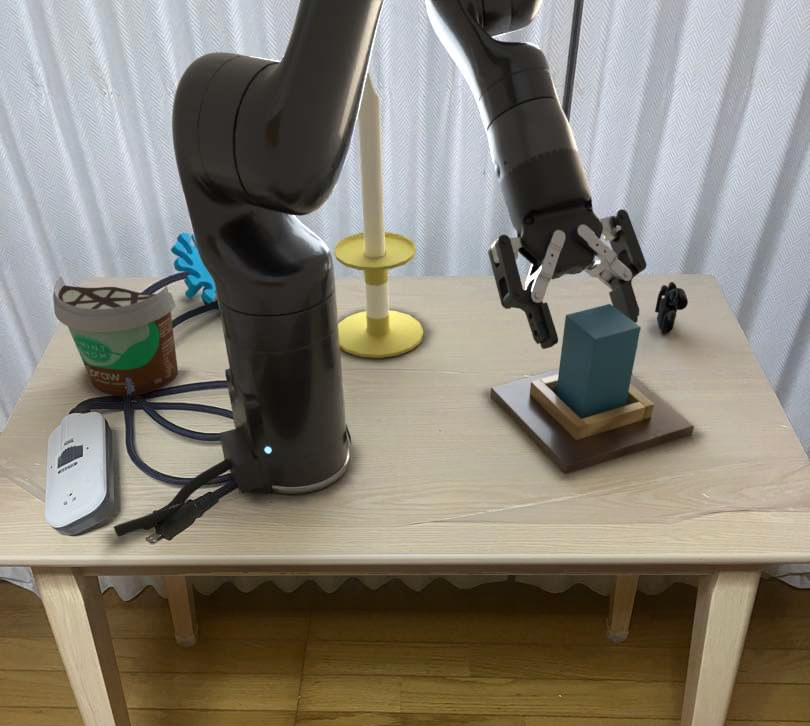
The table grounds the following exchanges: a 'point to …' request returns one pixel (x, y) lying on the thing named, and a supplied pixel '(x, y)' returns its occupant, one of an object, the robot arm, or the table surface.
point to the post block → (597, 360)
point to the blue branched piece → (193, 268)
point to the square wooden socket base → (588, 422)
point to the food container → (120, 335)
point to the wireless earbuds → (669, 306)
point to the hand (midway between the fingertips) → (590, 335)
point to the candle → (375, 253)
